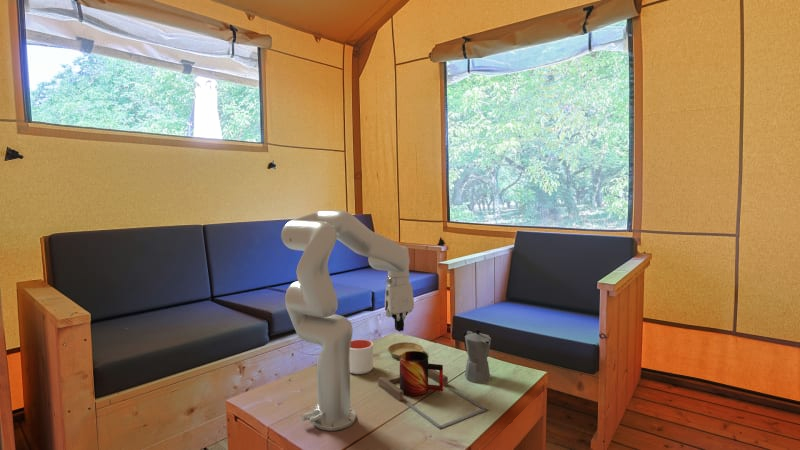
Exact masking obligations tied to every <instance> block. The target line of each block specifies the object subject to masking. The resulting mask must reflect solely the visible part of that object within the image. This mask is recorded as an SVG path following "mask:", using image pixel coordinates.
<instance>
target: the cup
mask: <svg viewBox="0 0 800 450" xmlns="http://www.w3.org/2000/svg"><path fill="white" fill-rule="evenodd" d="M373 368H374V343H373V342H372V341H371V340H367V339H355V340H351V345H350V373H351V374H354V375H363V374H368V373H370V372H371V371H372V370H373Z"/></svg>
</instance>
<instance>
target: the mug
mask: <svg viewBox="0 0 800 450" xmlns="http://www.w3.org/2000/svg"><path fill="white" fill-rule="evenodd" d="M428 369H431V370H436V371H438V372H439V383H438V384H439V385H437V384H429V377H428ZM399 375H400V381H399V388H400V389H401V390H403V397H407V398H423V397H424V396H426V395H427V394H428V393H429V391H433V392H434V391H435V392H444V386H443V375H444V364H436V363H429V354H427V353H425V352H424V351H423V352H420V351H408V352H404V353H402V354H401V355H400V359H399Z"/></svg>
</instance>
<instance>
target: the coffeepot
mask: <svg viewBox="0 0 800 450" xmlns="http://www.w3.org/2000/svg"><path fill="white" fill-rule="evenodd" d="M462 338H463V342H464V347H465V351H466V353H467V356H468V358H467V360H466V365H465V371H464V376H465V380H467V381H469V382H471V383H476V384H483V383H487V382H489V381H490V380H491V373H490V367H489V361H488V357H489V354H490V348H491V341H492V337H490V335H489V334H485V333H481V329H480V328H475V332H473V331H470V330H468V329H465V330H464V331H463V333H462Z"/></svg>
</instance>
